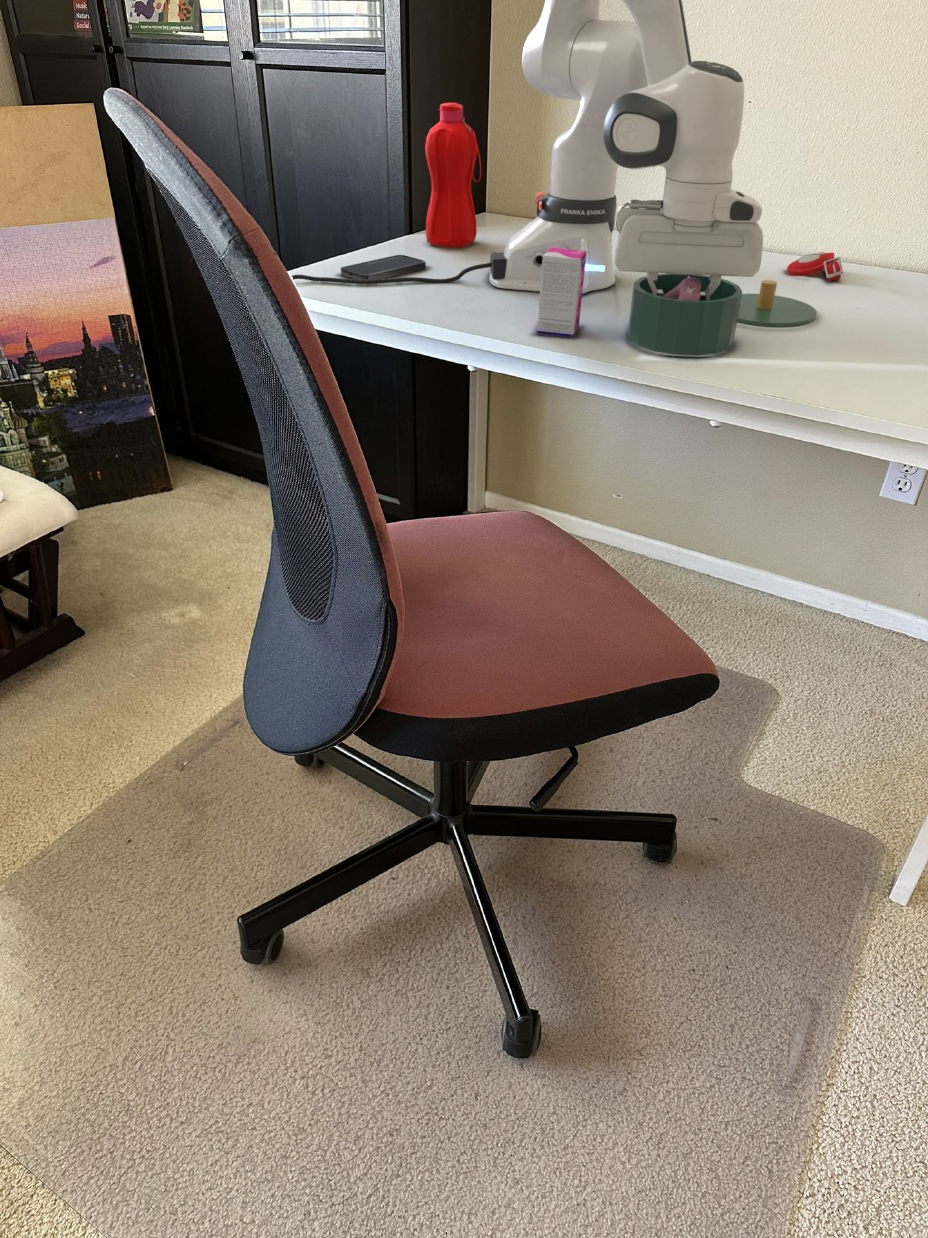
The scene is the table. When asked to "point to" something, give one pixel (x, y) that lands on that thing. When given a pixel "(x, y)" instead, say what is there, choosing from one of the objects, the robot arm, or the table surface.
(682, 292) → the video game controller
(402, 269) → the phone
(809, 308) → the tin lid
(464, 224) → the water bottle
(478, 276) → the table surface
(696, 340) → the tin
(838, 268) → the tracker holder
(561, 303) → the supplement box
